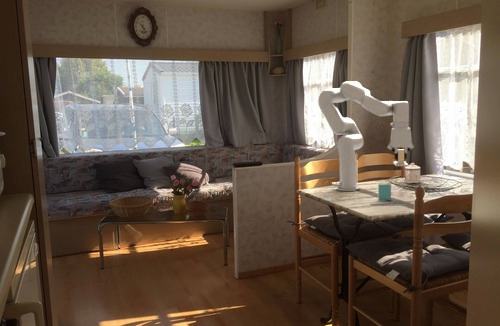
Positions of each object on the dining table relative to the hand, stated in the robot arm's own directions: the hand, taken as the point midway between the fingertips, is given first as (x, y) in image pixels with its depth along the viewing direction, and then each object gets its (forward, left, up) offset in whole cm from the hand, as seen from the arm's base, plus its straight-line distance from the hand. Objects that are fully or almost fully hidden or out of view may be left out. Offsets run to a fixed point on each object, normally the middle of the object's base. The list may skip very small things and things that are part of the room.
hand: (400, 160), depth 224 cm
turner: (0, 0, -2) cm, 2 cm away
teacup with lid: (+12, +33, -19) cm, 40 cm away
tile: (-10, -11, -18) cm, 23 cm away
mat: (-10, -15, -19) cm, 26 cm away
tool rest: (0, 0, -19) cm, 19 cm away
